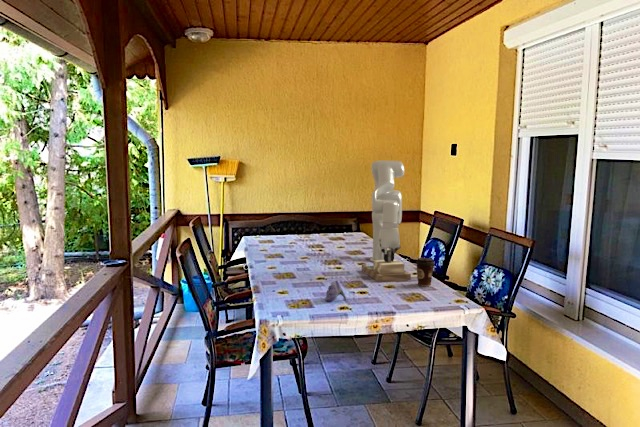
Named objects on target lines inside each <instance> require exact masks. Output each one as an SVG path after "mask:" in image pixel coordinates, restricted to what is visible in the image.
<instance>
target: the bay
mask: <svg viewBox="0 0 640 427" xmlns="http://www.w3.org/2000/svg"><path fill="white" fill-rule="evenodd" d="M373 268H374V265H367V264H361V272H363V273H364V274H366V275H368V276H369V277H370V278H372V279H373V280H375V281H377V282H378V283H389V282H407V281H408V280H412V278H411V276H412V274H411V273H409V272H408V271H406V270H404V273H403V274H383V275H381V274H380V273H378V272H376V271H375V270H373ZM408 282H409V281H408Z"/></svg>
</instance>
